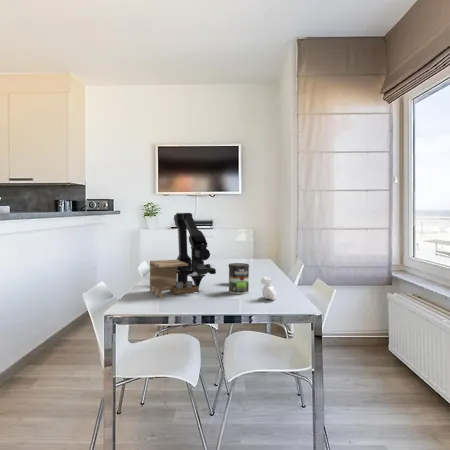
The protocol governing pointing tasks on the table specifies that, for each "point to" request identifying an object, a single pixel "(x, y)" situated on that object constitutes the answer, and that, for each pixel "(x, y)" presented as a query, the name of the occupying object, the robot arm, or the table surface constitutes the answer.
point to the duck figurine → (268, 289)
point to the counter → (163, 275)
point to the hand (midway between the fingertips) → (197, 288)
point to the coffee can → (238, 278)
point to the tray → (184, 288)
